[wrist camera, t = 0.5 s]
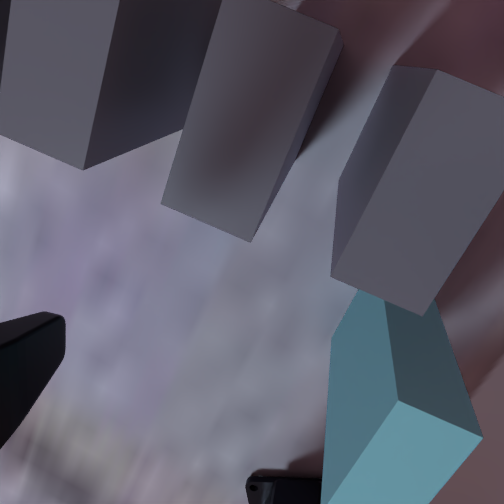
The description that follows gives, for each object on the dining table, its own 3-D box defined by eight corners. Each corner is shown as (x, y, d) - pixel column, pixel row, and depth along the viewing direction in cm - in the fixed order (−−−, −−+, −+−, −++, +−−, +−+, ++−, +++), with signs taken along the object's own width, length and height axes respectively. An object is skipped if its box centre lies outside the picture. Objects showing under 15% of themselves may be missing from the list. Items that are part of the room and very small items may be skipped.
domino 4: (426, 276, 21) (483, 438, 12) (375, 357, 23) (392, 547, 14) (377, 255, 21) (397, 400, 12) (331, 338, 23) (319, 514, 14)
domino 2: (343, 44, 18) (338, 28, 9) (294, 161, 20) (250, 242, 11) (287, 21, 18) (227, -18, 9) (244, 140, 20) (160, 203, 11)
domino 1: (239, 1, 18) (131, -58, 9) (200, 121, 20) (82, 170, 11) (183, -23, 18) (23, -102, 9) (151, 100, 21) (-6, 132, 11)
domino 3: (450, 88, 18) (551, 116, 9) (389, 201, 20) (422, 316, 11) (393, 65, 18) (437, 69, 9) (338, 180, 20) (330, 276, 11)
